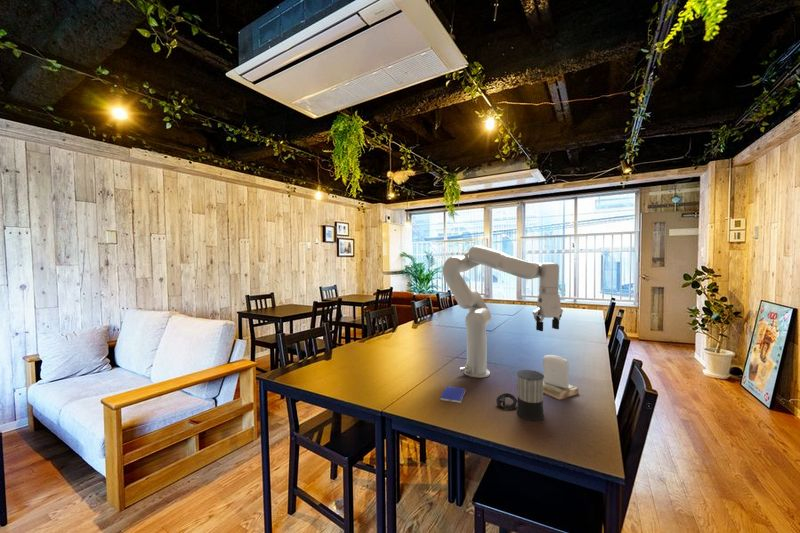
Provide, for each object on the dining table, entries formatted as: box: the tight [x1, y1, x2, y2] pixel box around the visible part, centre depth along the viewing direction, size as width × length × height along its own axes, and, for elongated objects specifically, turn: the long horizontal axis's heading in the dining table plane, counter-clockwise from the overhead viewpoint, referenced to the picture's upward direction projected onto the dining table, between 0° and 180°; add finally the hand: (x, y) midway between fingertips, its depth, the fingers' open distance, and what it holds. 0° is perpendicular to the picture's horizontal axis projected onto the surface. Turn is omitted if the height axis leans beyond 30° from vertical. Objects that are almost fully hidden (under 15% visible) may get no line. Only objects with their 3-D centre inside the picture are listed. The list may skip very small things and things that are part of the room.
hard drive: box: [439, 385, 467, 404], centre depth 132 cm, size 2×8×12 cm
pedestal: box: [543, 382, 579, 400], centre depth 135 cm, size 12×12×3 cm
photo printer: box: [542, 354, 570, 388], centre depth 135 cm, size 10×4×12 cm, turn 37°
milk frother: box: [496, 369, 545, 421], centre depth 118 cm, size 14×16×15 cm
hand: (547, 329), depth 140 cm, fingers open, 9 cm apart
